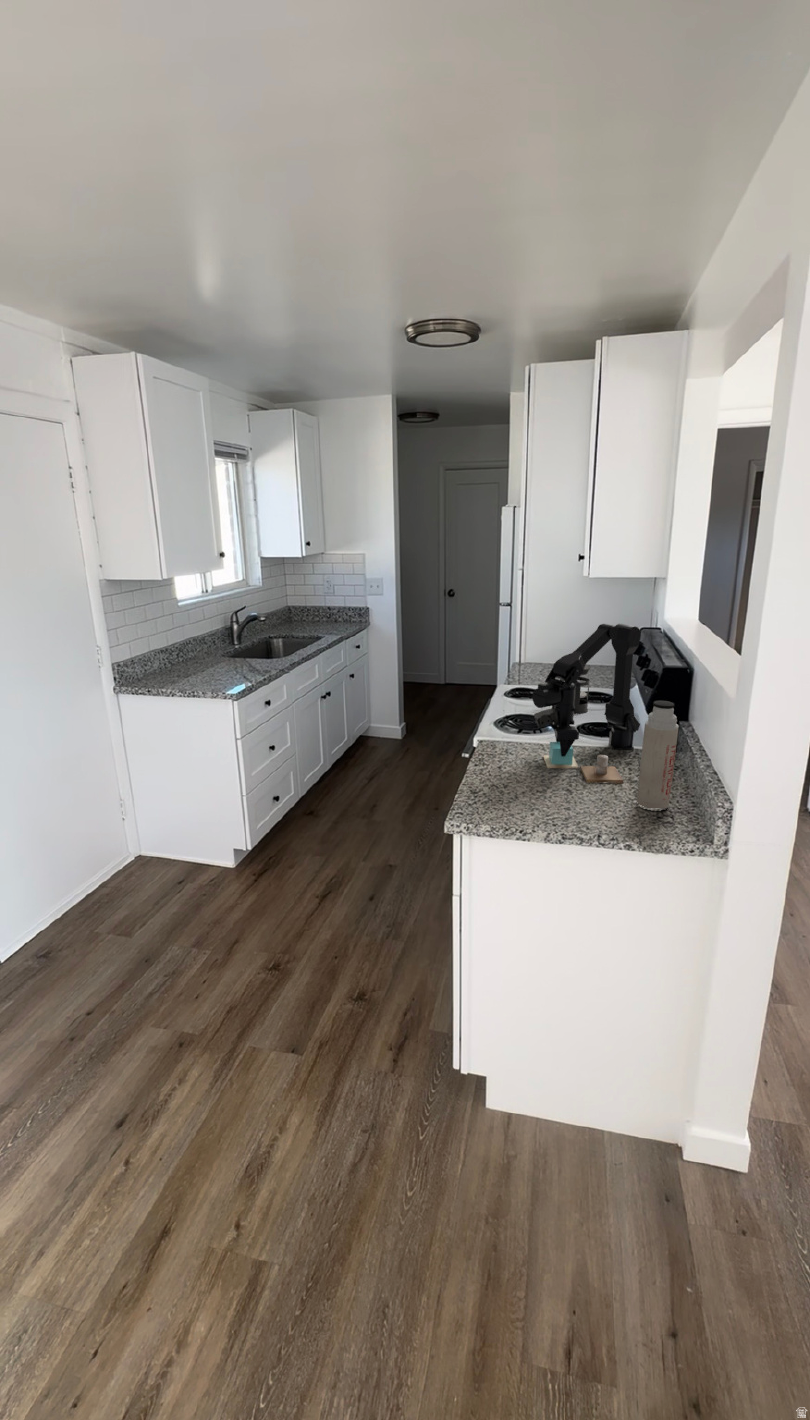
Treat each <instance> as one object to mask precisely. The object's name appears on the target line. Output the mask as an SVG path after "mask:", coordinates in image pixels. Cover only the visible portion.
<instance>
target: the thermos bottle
mask: <svg viewBox="0 0 810 1420" xmlns="http://www.w3.org/2000/svg"><path fill="white" fill-rule="evenodd" d="M652 705H653V708H652V711H651V712H650V713H649V714H648V716H647V718H648V719H647V720H646V721H645V722H644V726H643V727H644V728H643V738H642V747H641V757H640V765H639V766H640V767H639V775H638V783H637V792H636V793H637V795H636V801H637V802H638V803H639V804H640V805H642V806H644V807H647V808H666V807H668V806H669V807H670V799H671V790H672V783H673V774H674V767H675V759H676V752H677V743H678V737H679V736H678V735H679V727H680V726H679V724H677V722H678V719H677V718H678V717H677V716H676V714H674V711H675V709H674V708H675V703H674V702H671V701H668V700H655V701H653V704H652Z"/></svg>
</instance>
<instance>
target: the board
mask: <svg viewBox="0 0 810 1420" xmlns="http://www.w3.org/2000/svg"><path fill="white" fill-rule="evenodd" d="M542 758H543V761H544V763H545V765H546V769H579V765H578V763H577V762H576V759H575V757H574V756H573V760H572V765H563V764H552V763H551V761H550V759H549V754H544V755H543V756H542Z"/></svg>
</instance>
